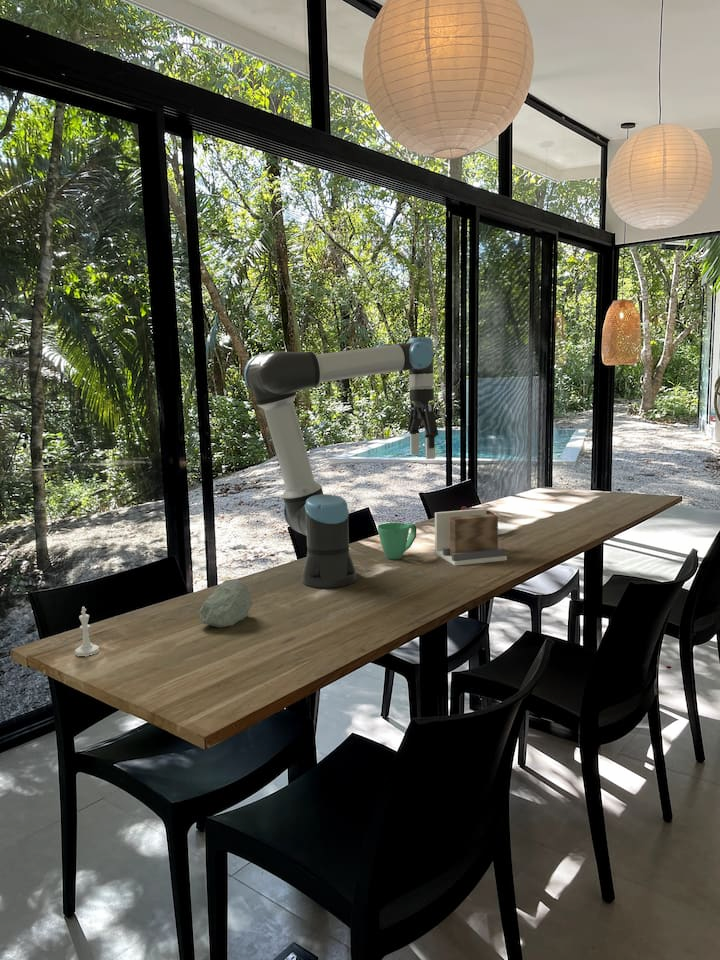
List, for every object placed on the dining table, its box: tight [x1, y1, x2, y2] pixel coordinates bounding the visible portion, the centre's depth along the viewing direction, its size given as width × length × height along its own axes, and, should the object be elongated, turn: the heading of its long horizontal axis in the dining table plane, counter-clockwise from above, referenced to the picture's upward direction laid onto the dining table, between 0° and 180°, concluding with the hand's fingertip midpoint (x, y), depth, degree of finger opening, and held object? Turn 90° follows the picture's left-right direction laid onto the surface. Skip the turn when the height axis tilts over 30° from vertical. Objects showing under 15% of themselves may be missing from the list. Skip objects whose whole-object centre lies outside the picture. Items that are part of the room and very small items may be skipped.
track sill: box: [434, 508, 508, 567], centre depth 220 cm, size 17×16×13 cm
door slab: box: [450, 513, 499, 557], centre depth 217 cm, size 14×4×12 cm, turn 106°
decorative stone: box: [198, 578, 253, 629], centre depth 168 cm, size 13×11×10 cm
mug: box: [377, 522, 417, 560], centre depth 223 cm, size 15×10×10 cm
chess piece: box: [74, 606, 100, 657], centre depth 151 cm, size 5×5×10 cm
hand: (422, 456), depth 224 cm, fingers open, 13 cm apart
